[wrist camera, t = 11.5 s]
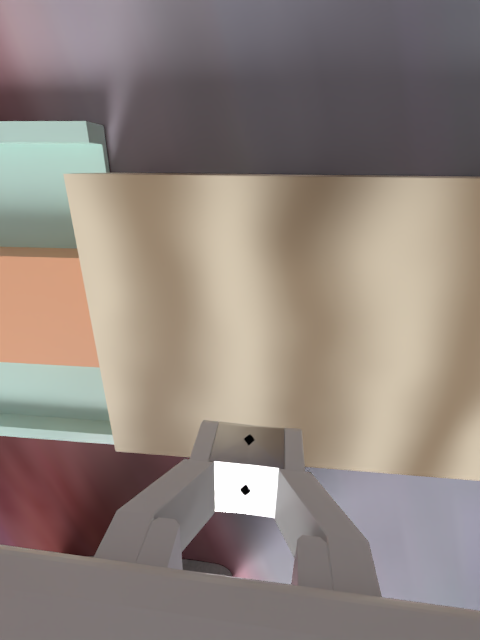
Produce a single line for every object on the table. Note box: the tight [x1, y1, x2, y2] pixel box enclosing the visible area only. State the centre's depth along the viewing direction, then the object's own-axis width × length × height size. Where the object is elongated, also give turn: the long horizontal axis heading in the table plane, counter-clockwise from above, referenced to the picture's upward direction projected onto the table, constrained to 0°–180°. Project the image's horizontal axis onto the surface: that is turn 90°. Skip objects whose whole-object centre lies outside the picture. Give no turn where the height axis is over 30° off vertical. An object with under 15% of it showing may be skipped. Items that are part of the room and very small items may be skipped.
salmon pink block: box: [0, 247, 100, 367], centre depth 18 cm, size 9×6×2 cm, turn 90°
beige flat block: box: [63, 173, 480, 481], centre depth 17 cm, size 20×14×4 cm
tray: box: [0, 121, 114, 445], centre depth 19 cm, size 14×18×2 cm
